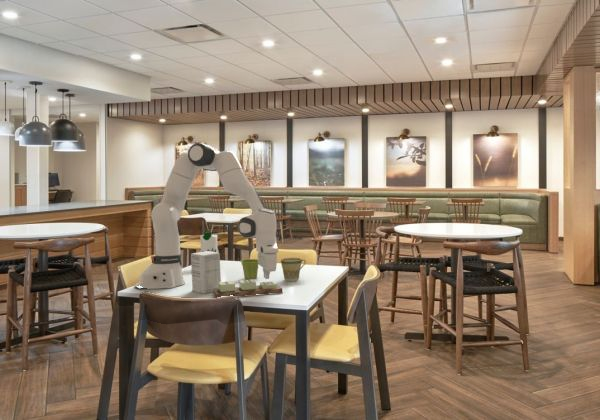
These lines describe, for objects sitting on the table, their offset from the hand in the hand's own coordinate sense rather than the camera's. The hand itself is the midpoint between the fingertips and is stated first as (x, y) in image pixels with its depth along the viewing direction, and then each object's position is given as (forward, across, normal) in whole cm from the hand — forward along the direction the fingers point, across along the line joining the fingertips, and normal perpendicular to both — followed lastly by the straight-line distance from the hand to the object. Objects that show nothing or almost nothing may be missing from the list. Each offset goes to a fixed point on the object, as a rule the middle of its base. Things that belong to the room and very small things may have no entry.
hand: (266, 278), depth 216 cm
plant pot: (+6, -32, 0) cm, 33 cm away
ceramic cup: (+6, -21, +19) cm, 28 cm away
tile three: (+5, 0, +1) cm, 5 cm away
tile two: (+4, 0, -8) cm, 9 cm away
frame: (+6, 0, -8) cm, 10 cm away
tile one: (+4, 0, -17) cm, 18 cm away
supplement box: (+6, -12, -24) cm, 28 cm away
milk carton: (+7, -72, -16) cm, 74 cm away
